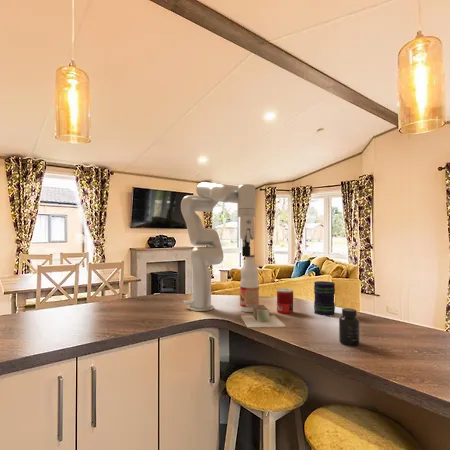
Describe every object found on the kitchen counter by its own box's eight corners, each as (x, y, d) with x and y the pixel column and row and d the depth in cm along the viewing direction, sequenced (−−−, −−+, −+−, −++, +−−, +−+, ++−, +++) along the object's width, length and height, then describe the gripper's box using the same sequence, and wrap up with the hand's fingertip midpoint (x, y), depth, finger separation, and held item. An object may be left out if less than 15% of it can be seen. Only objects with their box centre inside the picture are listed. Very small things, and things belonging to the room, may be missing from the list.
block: (257, 310, 138) (253, 305, 149) (257, 322, 138) (252, 315, 149) (269, 310, 139) (263, 304, 150) (268, 322, 139) (263, 315, 150)
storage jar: (327, 316, 150) (327, 284, 151) (309, 312, 158) (310, 282, 158) (338, 313, 157) (338, 283, 157) (321, 309, 164) (321, 280, 165)
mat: (247, 327, 131) (247, 326, 131) (241, 316, 149) (241, 315, 149) (285, 327, 133) (285, 326, 133) (274, 316, 151) (274, 315, 151)
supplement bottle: (335, 340, 117) (335, 307, 117) (353, 340, 117) (353, 307, 118) (344, 347, 110) (344, 311, 110) (363, 346, 111) (363, 311, 111)
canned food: (293, 314, 154) (293, 291, 154) (276, 313, 156) (276, 290, 156) (293, 310, 161) (293, 289, 162) (277, 310, 163) (277, 288, 163)
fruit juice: (254, 313, 155) (255, 255, 156) (236, 311, 160) (237, 255, 160) (261, 309, 164) (261, 254, 165) (244, 307, 168) (244, 254, 169)
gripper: (258, 212, 131) (258, 257, 130) (251, 214, 145) (251, 255, 145) (240, 212, 130) (240, 257, 129) (235, 214, 145) (235, 254, 144)
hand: (246, 256), depth 137 cm, fingers closed
